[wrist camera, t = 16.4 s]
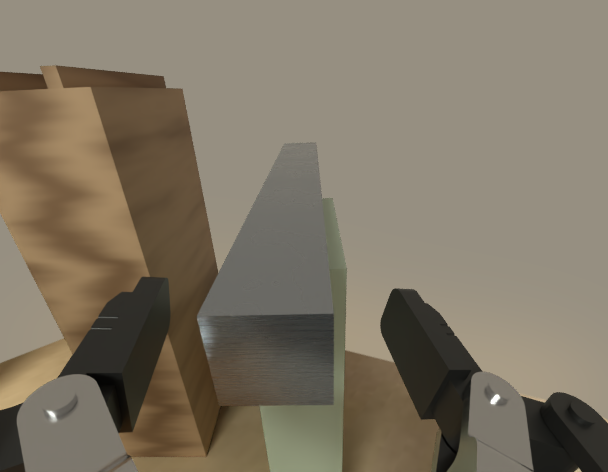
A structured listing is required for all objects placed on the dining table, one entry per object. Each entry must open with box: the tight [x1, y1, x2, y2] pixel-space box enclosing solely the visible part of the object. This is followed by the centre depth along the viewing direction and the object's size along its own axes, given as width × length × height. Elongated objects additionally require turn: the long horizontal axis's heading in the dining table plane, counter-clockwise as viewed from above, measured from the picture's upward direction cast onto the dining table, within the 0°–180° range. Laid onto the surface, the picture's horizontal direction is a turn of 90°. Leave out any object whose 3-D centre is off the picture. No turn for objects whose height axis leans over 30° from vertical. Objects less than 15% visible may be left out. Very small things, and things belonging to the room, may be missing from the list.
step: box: [260, 198, 347, 472], centre depth 23 cm, size 5×10×24 cm, turn 179°
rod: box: [197, 143, 334, 406], centre depth 18 cm, size 3×24×3 cm, turn 179°
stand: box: [0, 66, 221, 457], centre depth 27 cm, size 8×12×33 cm, turn 179°
